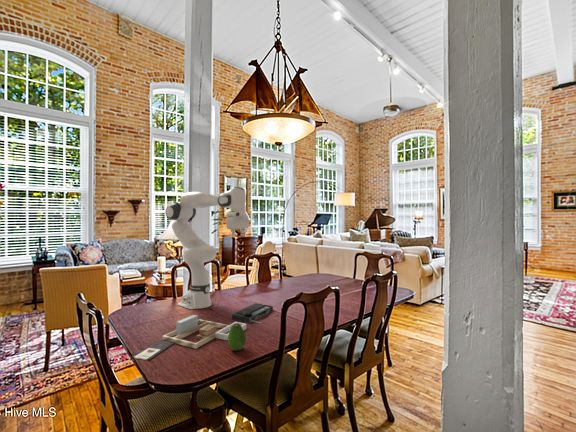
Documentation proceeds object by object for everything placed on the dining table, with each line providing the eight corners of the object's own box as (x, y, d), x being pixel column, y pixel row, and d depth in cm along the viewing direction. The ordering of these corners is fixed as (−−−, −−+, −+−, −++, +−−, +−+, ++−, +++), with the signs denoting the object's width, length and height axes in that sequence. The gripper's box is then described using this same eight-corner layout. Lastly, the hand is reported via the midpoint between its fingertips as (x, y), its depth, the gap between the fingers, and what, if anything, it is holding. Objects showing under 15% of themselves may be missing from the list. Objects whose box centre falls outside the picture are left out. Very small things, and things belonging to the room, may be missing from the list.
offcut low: (196, 340, 149) (196, 335, 149) (209, 333, 158) (209, 328, 158) (204, 342, 147) (204, 337, 147) (217, 335, 156) (217, 330, 156)
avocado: (224, 351, 136) (224, 324, 136) (236, 344, 143) (236, 319, 143) (237, 356, 132) (237, 328, 132) (249, 349, 138) (249, 322, 138)
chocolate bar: (175, 341, 145) (149, 359, 127) (175, 343, 145) (149, 361, 127) (159, 339, 147) (131, 356, 130) (159, 341, 147) (131, 358, 130)
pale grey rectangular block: (176, 335, 153) (176, 321, 153) (193, 327, 164) (193, 314, 164) (180, 337, 152) (180, 322, 152) (197, 328, 163) (197, 315, 163)
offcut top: (199, 334, 150) (199, 329, 150) (207, 329, 157) (207, 324, 157) (207, 335, 148) (207, 330, 148) (215, 330, 155) (215, 325, 155)
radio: (255, 301, 200) (282, 305, 190) (255, 307, 200) (282, 312, 190) (231, 312, 177) (260, 318, 168) (231, 319, 178) (260, 325, 168)
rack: (162, 340, 148) (162, 335, 148) (199, 322, 171) (199, 319, 171) (195, 348, 139) (195, 344, 139) (230, 329, 162) (230, 325, 162)
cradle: (215, 337, 151) (215, 332, 151) (235, 326, 166) (235, 321, 166) (226, 340, 148) (226, 335, 148) (246, 328, 163) (246, 323, 163)
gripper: (243, 213, 199) (242, 234, 199) (224, 213, 180) (224, 237, 180) (251, 213, 196) (251, 235, 196) (233, 213, 178) (233, 237, 178)
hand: (238, 236), depth 188 cm, fingers open, 8 cm apart
